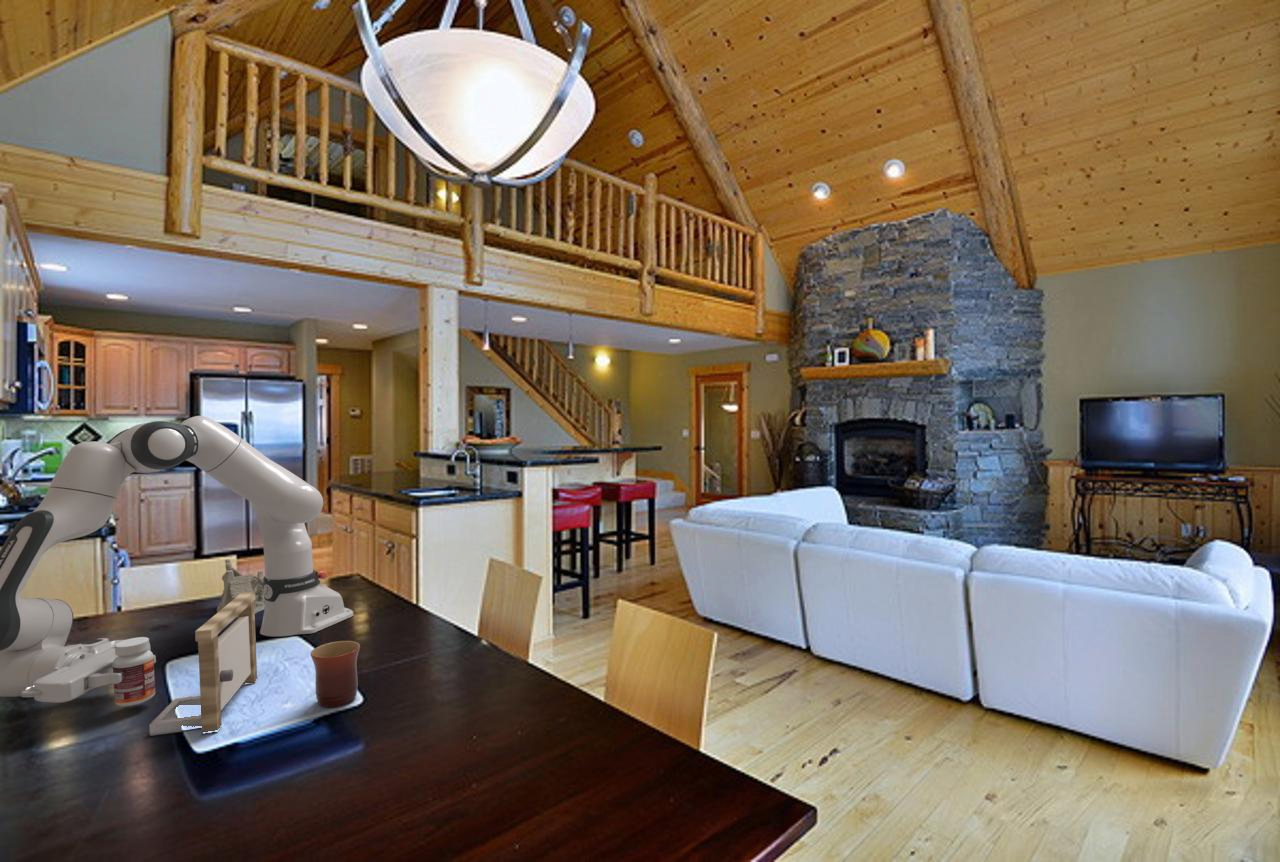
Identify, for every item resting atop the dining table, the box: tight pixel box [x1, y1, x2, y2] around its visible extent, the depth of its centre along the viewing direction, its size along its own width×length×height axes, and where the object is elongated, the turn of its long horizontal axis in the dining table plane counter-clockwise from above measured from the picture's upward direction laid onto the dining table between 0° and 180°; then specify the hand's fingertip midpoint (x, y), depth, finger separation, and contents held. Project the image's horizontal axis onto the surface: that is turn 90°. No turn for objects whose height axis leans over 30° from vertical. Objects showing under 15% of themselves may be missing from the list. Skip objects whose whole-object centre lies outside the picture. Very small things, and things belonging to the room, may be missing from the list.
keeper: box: [148, 695, 202, 737], centre depth 118 cm, size 10×9×2 cm
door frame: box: [194, 591, 258, 733], centre depth 122 cm, size 25×2×19 cm, turn 16°
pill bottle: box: [113, 636, 156, 707], centre depth 121 cm, size 6×6×11 cm
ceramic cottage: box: [216, 558, 265, 619], centre depth 184 cm, size 16×16×15 cm
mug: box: [310, 640, 361, 708], centre depth 125 cm, size 12×9×10 cm
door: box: [218, 616, 251, 711], centre depth 123 cm, size 18×3×12 cm, turn 16°
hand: (138, 668), depth 121 cm, fingers closed on pill bottle, 6 cm apart
